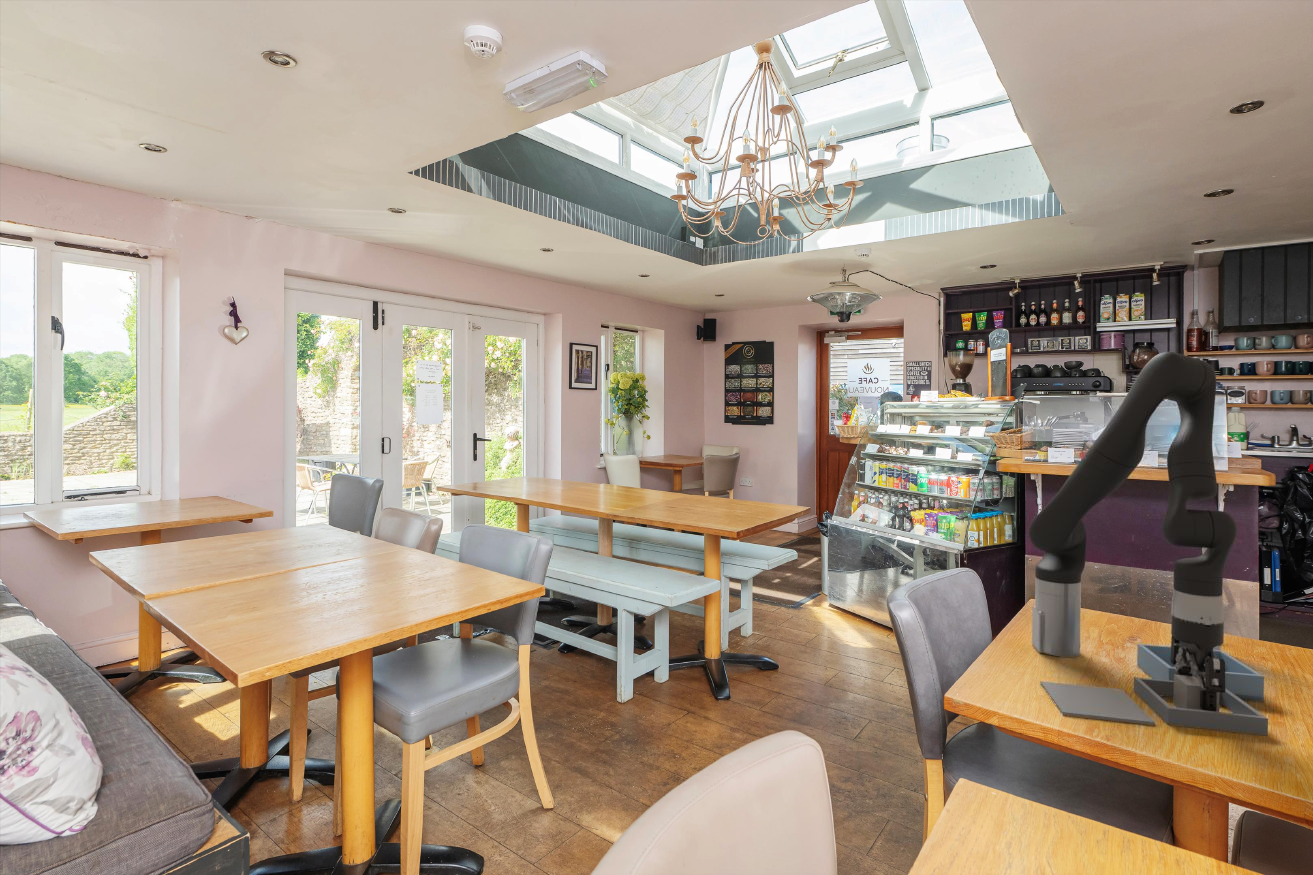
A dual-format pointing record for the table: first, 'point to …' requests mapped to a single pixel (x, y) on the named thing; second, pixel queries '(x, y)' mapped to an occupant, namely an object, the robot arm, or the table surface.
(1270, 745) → the table surface
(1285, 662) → the table surface
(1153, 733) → the table surface
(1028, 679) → the table surface
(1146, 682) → the gray square frame
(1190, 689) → the stone block
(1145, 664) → the slate blue bin
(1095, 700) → the bin lid
